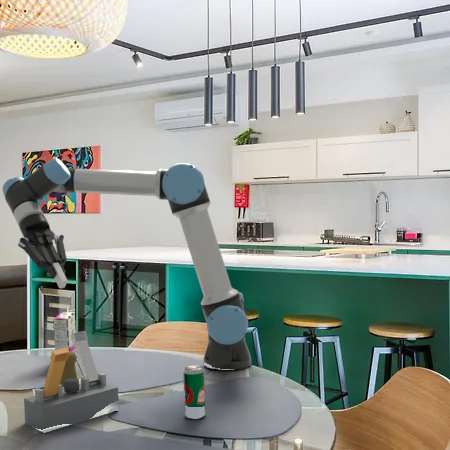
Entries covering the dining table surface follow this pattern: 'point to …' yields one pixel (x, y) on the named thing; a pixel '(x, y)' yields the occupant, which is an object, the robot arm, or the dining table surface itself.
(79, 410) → the console
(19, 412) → the dining table surface
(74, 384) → the button
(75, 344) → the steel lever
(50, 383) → the orange lever
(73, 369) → the cork
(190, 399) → the soda can
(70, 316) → the candy bar box
